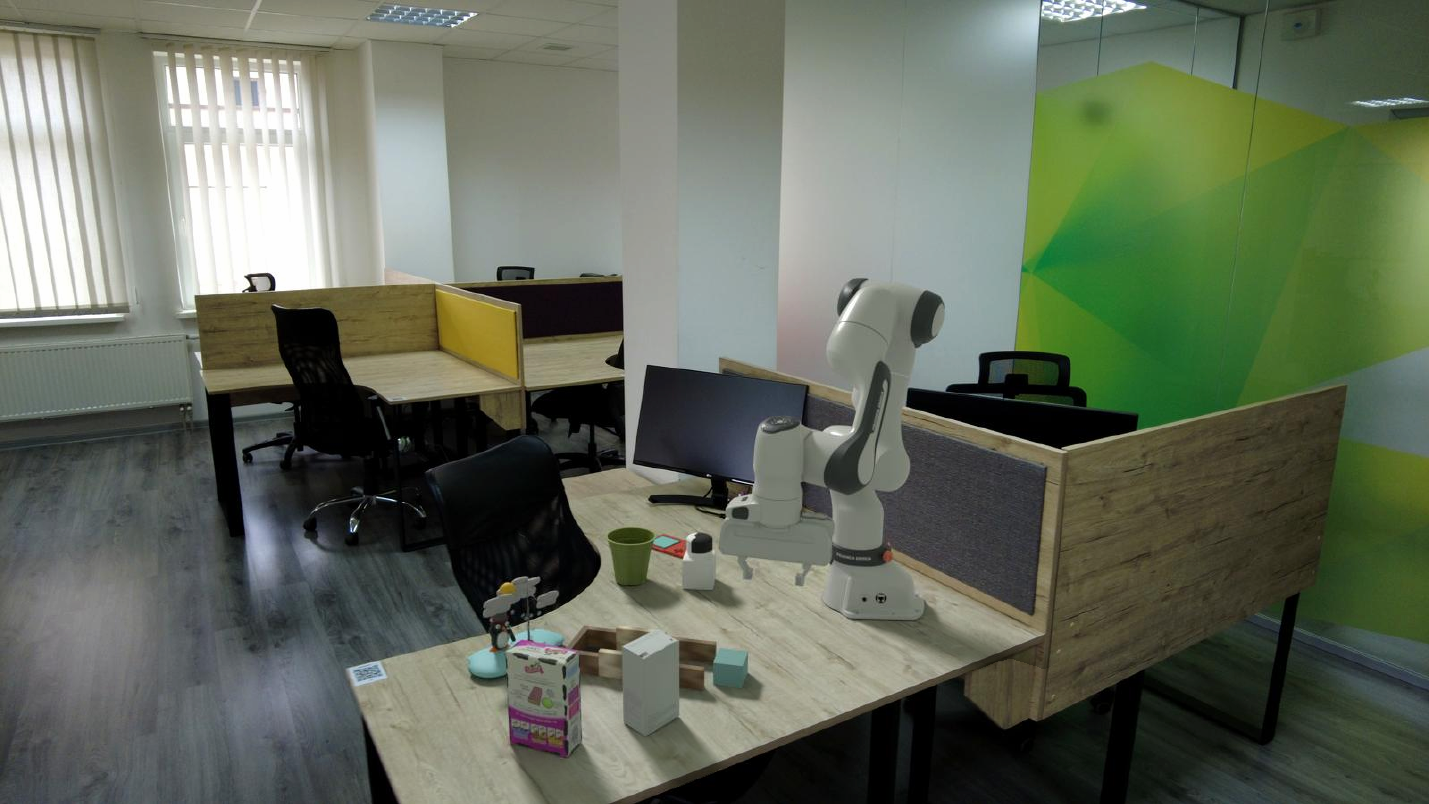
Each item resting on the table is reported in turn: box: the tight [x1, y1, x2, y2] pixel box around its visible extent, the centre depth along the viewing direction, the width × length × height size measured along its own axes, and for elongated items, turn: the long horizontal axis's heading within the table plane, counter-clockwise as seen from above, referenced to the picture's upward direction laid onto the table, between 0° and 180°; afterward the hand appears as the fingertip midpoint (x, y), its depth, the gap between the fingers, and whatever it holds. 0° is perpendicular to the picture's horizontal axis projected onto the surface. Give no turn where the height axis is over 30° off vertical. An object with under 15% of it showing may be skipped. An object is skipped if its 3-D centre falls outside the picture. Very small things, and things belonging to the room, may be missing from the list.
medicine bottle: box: [681, 532, 717, 591], centre depth 198 cm, size 7×7×12 cm
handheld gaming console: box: [651, 533, 687, 560], centre depth 221 cm, size 9×1×15 cm
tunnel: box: [565, 624, 718, 691], centre depth 162 cm, size 27×11×5 cm, turn 77°
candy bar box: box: [505, 640, 583, 758], centre depth 137 cm, size 11×5×16 cm, turn 69°
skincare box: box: [622, 628, 680, 737], centre depth 143 cm, size 8×6×15 cm
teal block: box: [712, 647, 749, 689], centre depth 158 cm, size 6×6×4 cm
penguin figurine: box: [466, 576, 565, 679], centre depth 164 cm, size 20×11×15 cm, turn 135°
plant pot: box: [605, 526, 657, 586], centre depth 200 cm, size 12×12×11 cm
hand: (773, 581), depth 153 cm, fingers open, 8 cm apart
